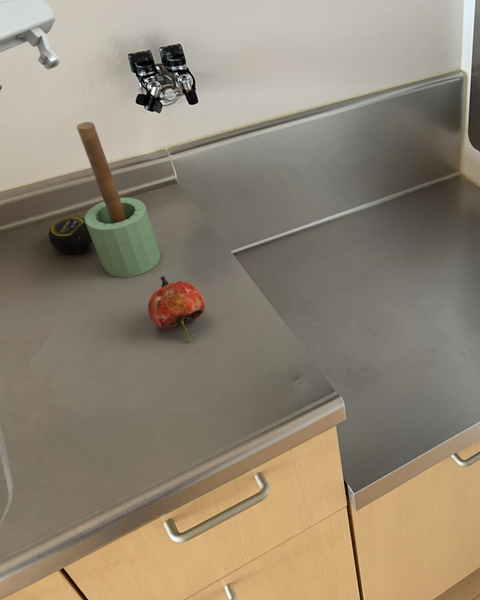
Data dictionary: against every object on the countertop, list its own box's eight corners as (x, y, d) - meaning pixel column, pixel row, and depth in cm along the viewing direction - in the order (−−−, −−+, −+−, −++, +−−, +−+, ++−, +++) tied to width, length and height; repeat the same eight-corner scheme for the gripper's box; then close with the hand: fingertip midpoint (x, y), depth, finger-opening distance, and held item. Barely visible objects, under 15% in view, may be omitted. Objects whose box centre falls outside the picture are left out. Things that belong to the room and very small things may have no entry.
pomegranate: (219, 337, 88) (199, 273, 89) (210, 330, 80) (188, 260, 82) (167, 354, 86) (147, 288, 88) (153, 348, 79) (132, 277, 80)
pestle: (121, 264, 96) (71, 133, 81) (118, 251, 98) (70, 122, 83) (145, 258, 97) (100, 128, 82) (142, 246, 99) (98, 117, 85)
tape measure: (89, 258, 98) (81, 239, 95) (47, 257, 98) (38, 238, 96) (106, 233, 103) (99, 215, 101) (66, 232, 103) (58, 214, 101)
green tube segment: (106, 283, 93) (86, 234, 87) (101, 252, 99) (82, 205, 93) (164, 268, 96) (149, 220, 90) (156, 239, 102) (141, 192, 96)
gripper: (-4, -19, 83) (78, 64, 87) (-153, 27, 69) (-47, 124, 73) (8, -52, 79) (93, 36, 83) (-148, -11, 64) (-37, 93, 68)
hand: (26, 78), depth 78 cm, fingers open, 8 cm apart
